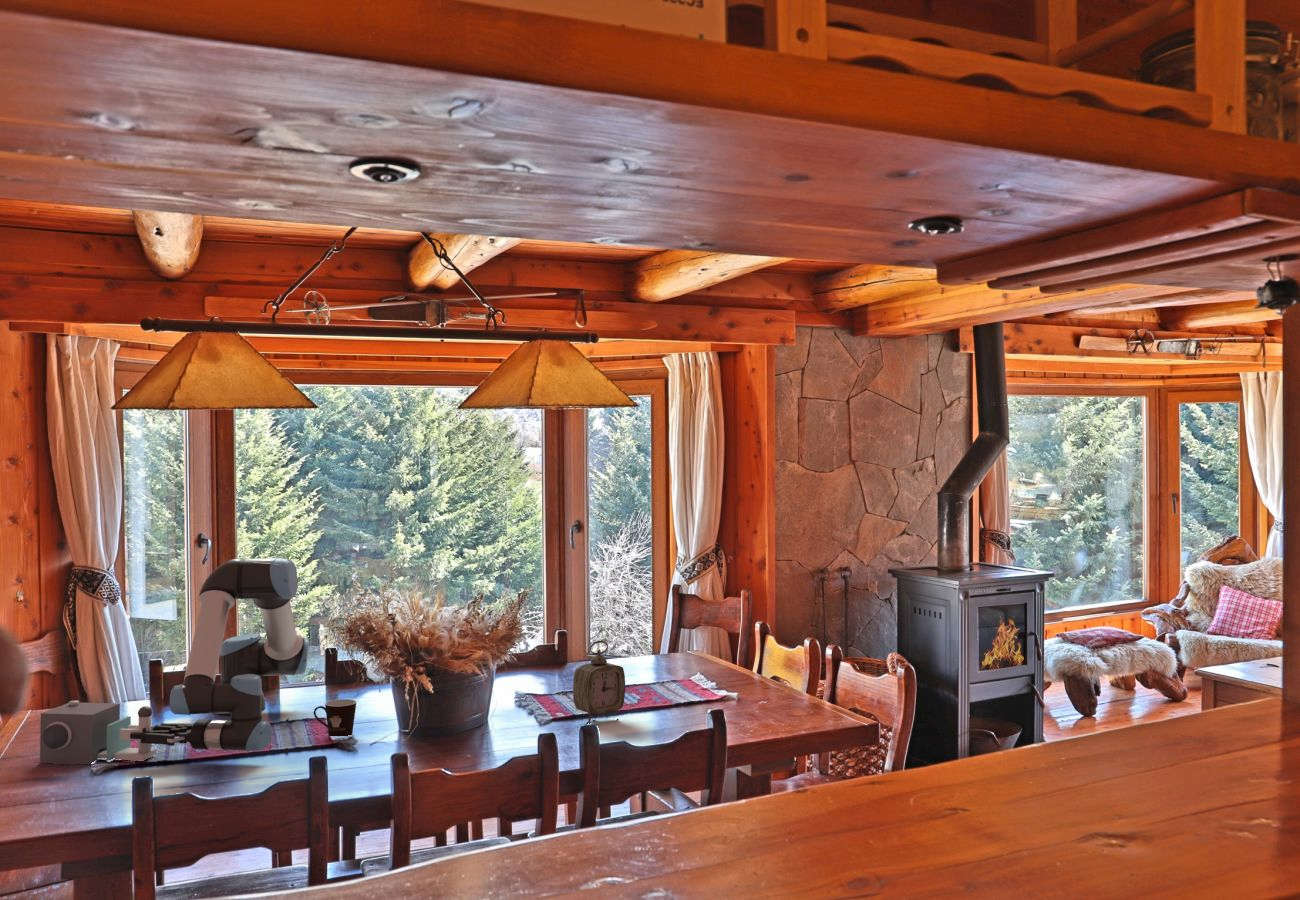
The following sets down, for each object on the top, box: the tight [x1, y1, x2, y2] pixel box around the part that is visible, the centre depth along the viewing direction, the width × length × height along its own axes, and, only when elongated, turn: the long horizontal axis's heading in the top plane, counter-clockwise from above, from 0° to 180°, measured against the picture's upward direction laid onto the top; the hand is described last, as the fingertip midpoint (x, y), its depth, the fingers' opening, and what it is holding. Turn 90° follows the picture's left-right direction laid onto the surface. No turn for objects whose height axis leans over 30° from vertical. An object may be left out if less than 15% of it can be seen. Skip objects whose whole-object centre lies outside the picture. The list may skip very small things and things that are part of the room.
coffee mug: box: [313, 698, 357, 737], centre depth 288 cm, size 12×9×10 cm
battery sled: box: [98, 705, 157, 760], centre depth 265 cm, size 19×9×14 cm, turn 87°
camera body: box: [39, 700, 121, 766], centre depth 264 cm, size 14×14×14 cm
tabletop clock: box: [572, 640, 626, 725], centre depth 307 cm, size 14×9×25 cm, turn 131°
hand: (124, 732), depth 265 cm, fingers closed on battery sled, 3 cm apart
